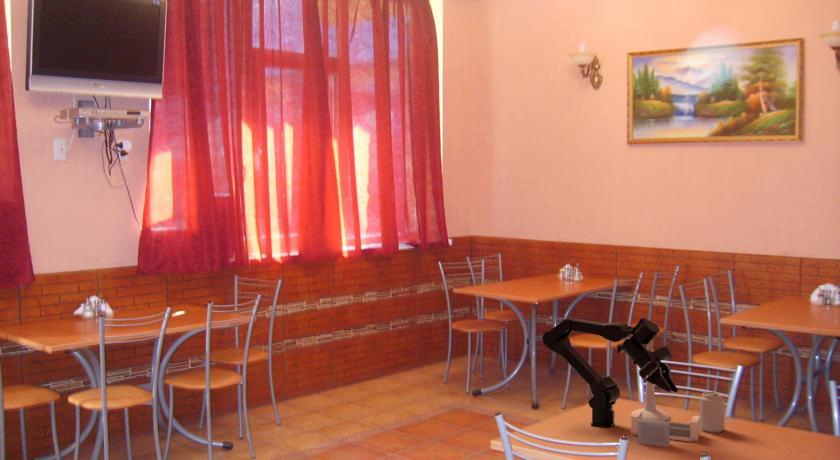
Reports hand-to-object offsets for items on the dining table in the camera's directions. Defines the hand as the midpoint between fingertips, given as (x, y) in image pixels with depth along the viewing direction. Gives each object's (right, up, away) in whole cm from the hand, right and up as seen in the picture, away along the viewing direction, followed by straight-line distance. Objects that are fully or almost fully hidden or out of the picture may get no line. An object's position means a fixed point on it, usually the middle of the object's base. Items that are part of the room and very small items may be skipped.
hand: (673, 391), depth 259 cm
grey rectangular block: (-7, -16, -4) cm, 17 cm away
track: (-1, -15, +5) cm, 16 cm away
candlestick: (0, -14, +26) cm, 29 cm away
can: (+15, -15, +10) cm, 23 cm away
